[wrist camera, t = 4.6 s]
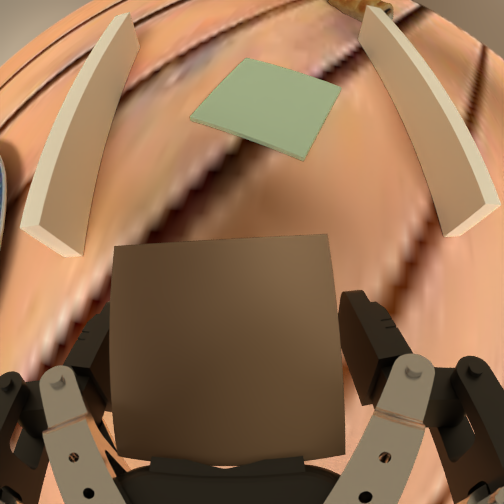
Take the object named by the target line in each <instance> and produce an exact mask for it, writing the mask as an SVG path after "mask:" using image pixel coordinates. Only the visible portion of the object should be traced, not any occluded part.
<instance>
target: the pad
mask: <svg viewBox="0 0 504 504" xmlns="http://www.w3.org/2000/svg"><path fill="white" fill-rule="evenodd" d="M340 91H341V87H339V86H336V85H334V84H331V83H328V82H326V81H323V80H320V79H317V78H314V77H311V76H309V75H306V74H303V73H299V72H296V71H293V70H290V69H287V68H283V67H280V66H276V65H273V64H269V63H265V62H262V61H258V60H254V59H250V58H245V59H244V60H243V61H242V62H241V63H240V64H239V65H238V66H237V67H236V68H235V69H234V70H233V71H232V72H231V73H230V74H229V75H228V76H227V77H226V78H225V79H224V80H223V81H222V82H221V83H220V84H219V85H218V86H217V87H216V88H215V89H214V91H213V92H212V93H211V94H210V95H209V96H208V97H207V98H206V99H205V100H204V101H203V102H202V104H201V105H200V106H199V107H198V108H197V109H196V110H195V111H194V113H193V114H192V115H191V116H190V120H191V121H194V122H197V123H200V124H203V125H207V126H210V127H213V128H216V129H219V130H222V131H225V132H228V133H231V134H233V135H236V136H239V137H242V138H245V139H247V140H250V141H253V142H256V143H258V144H261V145H264V146H266V147H269V148H271V149H274V150H277V151H279V152H282V153H284V154H287V155H289V156H292V157H294V158H296V159H299V160H301V161H304V160H305V158H306V156H307V154H308V152H309V150H310V148H311V146H312V144H313V143H314V141H315V139H316V137H317V135H318V133H319V131H320V129H321V127H322V126H323V124H324V122H325V120H326V118H327V116H328V114H329V112H330V110H331V108H332V107H333V105H334V103H335V101H336V99H337V97H338V95H339V93H340Z"/></svg>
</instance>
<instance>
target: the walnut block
mask: <svg viewBox="0 0 504 504" xmlns="http://www.w3.org/2000/svg"><path fill="white" fill-rule="evenodd" d="M109 355H110V385H111V401H112V413H113V424H114V433H115V441H116V449H117V456H119V457H125V458H131V459H138V460H145V461H151V457H152V456H153V457H162V458H173V459H187V460H190V461H194V462H198V463H201V464H205V465H209V466H242V465H246V464H250V463H254V462H257V461H261V460H265V459H277V458H288V457H298V456H303V459H304V461H308V460H315V459H322V458H328V457H334V456H340V455H345V410H344V388H343V371H342V356H341V344H340V332H339V322H338V312H337V302H336V294H335V285H334V277H333V270H332V262H331V255H330V248H329V241H328V235H327V234H316V235H295V236H275V237H256V238H237V239H219V240H202V241H186V242H169V243H154V244H139V245H124V246H114V256H113V267H112V280H111V297H110V327H109Z"/></svg>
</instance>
